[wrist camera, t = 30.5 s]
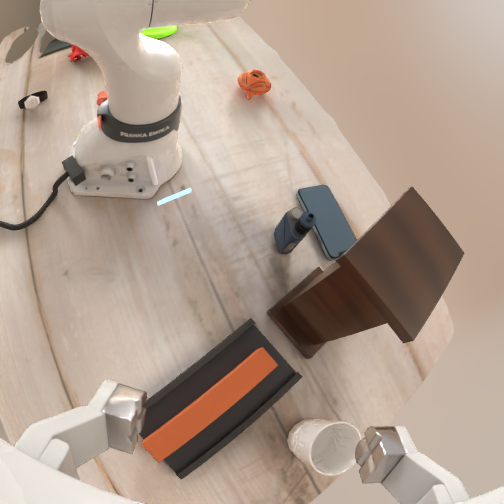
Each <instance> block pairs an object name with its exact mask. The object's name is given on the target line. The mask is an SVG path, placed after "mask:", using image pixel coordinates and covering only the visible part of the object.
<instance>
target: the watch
mask: <svg viewBox="0 0 504 504" xmlns="http://www.w3.org/2000/svg"><path fill="white" fill-rule="evenodd" d="M47 98H48V97H47V91H41V92H37V93H33V94H31V95H29V96H27V97H25V98H23V99H21V100H20V101H19V102H18V104H19V107H20V109H23V108H29V109H33V108H35V107H36V106H37V105H38V103H40V102H42V101H44V100H46V99H47Z"/></svg>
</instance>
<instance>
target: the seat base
mask: <svg viewBox="0 0 504 504" xmlns="http://www.w3.org/2000/svg"><path fill="white" fill-rule="evenodd" d="M254 324H255V322H254V321H253V320H252V319H251V318H250V319H249V320H248V321H246V322H245V323H244V324H243V325H242V326H240V327H239V328H238V329H237V330H236V331H234V332H233V333H232V334H231V335H230V336H228V337H227V338H226V339H225V340H223V341H222V342H221V343H220V344H218V345H217V346H216V347H215V348H214V349H212V350H211V351H210V352H209V353H207V354H206V355H205V356H204V357H202V358H201V359H200V360H199V361H197V362H196V363H195V364H194V365H192V366H191V367H190V368H188V369H187V370H186V371H185V372H183V373H182V374H181V375H179V376H178V377H177V378H176V379H174V380H173V381H172V382H170V383H169V384H168V385H167V386H165V387H164V388H163V389H161V390H160V391H159V392H157V393H156V394H155V395H153V396H152V397H151V398H149V399H148V400H147V401H146V402H145V405H144V407H145V408H146V417H145V422H144V425H143V428H142V431H141V433H139V434H140V435H141V436H142V438H143V439H145V438H147V437H148V436H149V435H151V434H152V433H153V432H155V431H156V430H157V429H159V428H160V427H161V426H163V425H164V424H165V423H167V422H168V421H169V420H171V419H172V418H173V417H175V416H176V415H177V414H179V413H180V412H181V411H182V410H184V409H185V408H186V407H188V406H189V405H190V404H191V403H193V402H194V401H195V400H196V399H198V398H199V397H200V396H202V395H203V394H204V393H205V392H206V391H208V390H209V389H210V388H211V387H213V386H214V385H215V384H216V383H218V382H219V381H220V380H221V379H222V378H224V377H225V376H226V375H227V374H228V373H230V372H231V371H232V370H233V369H234V368H236V367H237V366H238V365H239V364H240V363H241V362H243V361H244V360H245V359H246V358H247V357H248V356H250V355H251V354H252V353H253V352H254V351H255V350H257V349H259V348H262V347H263V348H264V349H265V351H266V352H267V353H268V354H269V355H270V356H271V357H272V359H273V360H274V361H275V362H276V363H277V364H278V366H277V367H276V368H275V369H274V370H273V371H271V372H270V373H269V374H268V375H267V376H266V377H265V378H264V379H263V380H262V381H260V382H259V383H258V384H257V385H256V386H255V387H254V388H252V389H251V390H250V391H249V392H248V393H247V394H246V395H244V396H243V397H242V398H241V399H240V400H239V401H237V402H236V403H235V404H234V405H233V406H231V407H230V408H229V409H228V410H227V411H225V412H224V413H223V414H222V415H221V416H219V417H218V418H217V419H216V420H214V421H213V422H212V423H211V424H209V425H208V426H207V427H206V428H204V429H203V430H202V431H201V432H199V433H198V434H197V435H196V436H194V437H193V438H192V439H190V440H189V441H188V442H186V443H185V444H184V445H182V446H181V447H180V448H178V449H177V450H176V451H174V452H173V453H172V454H170V455H169V456H168V457H166V458H165V459H163V460H164V461H165V462H166V463H167V464H168V465H169V466H170V467H171V468H172V469H173V470H174V471H175V472H176V475H177V476H178V477H179V478H180V479H183V478H184V477H185V476H187V475H188V474H189V473H191V472H192V471H194V470H195V469H196V468H198V467H199V466H200V465H202V464H203V463H204V462H205V461H207V460H208V459H209V458H211V457H212V456H213V455H214V454H216V453H217V452H218V451H220V450H221V449H222V448H223V447H225V446H226V445H227V444H228V443H229V442H231V441H232V440H233V439H234V438H236V437H237V436H238V435H239V434H240V433H241V432H243V431H244V430H245V429H246V428H247V427H249V426H250V425H251V424H252V423H253V422H254V421H255V420H257V419H258V418H259V417H260V416H261V415H262V414H263V413H264V412H266V411H267V410H268V409H269V408H270V407H271V406H272V405H273V404H274V403H275V402H277V401H278V400H279V399H280V398H281V397H282V396H283V395H284V394H285V393H286V392H287V391H288V390H289V389H290V388H291V387H292V386H294V385H295V384H296V383H297V382H298V381H299V380H300V379H301V378H302V376H301V375H300V374H299V373H298V372H297V373H296V372H295V371H294V370H293V369H292V368H291V366H290V365H289V364H288V363H287V362H286V361H285V360H284V359H283V357H282V356H281V355H280V354H279V353H278V352H277V351H276V349H275V348H274V347H273V346H272V345H271V344H270V343H269V341H268V340H267V339H266V338H265V337H264V336H263V334H262V333H261V332H260V331H259V330H258V329H257V327H256V326H255V325H254Z"/></svg>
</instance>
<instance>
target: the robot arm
mask: <svg viewBox="0 0 504 504" xmlns="http://www.w3.org/2000/svg"><path fill="white" fill-rule="evenodd" d="M249 2H250V0H41V3H40V16H41V19H42V23H43V25H44V27H45V28H46V30H47V31H48V32H49V33H50V34H51V35H52V36H54V37H55V38H57V39H58V40H62V41H65V42H68V43H71V44H73V45H75V46H77V47H79V48H81V49H82V50H84V51H85V52H86V53H88V54H89V55H90V56H91V57H92V58H93V59H94V60H95V61H96V63H97V64H98V66H99V67H100V69H101V71H102V74H103V77H104V82H105V86H106V91H107V92H106V91H102V92H100V93H99V94H98V97H97V98H98V100H97V104H98V105H99V107H98V110H97V117H95V118H94V119H92V120H91V121H89V122H88V123H86V124H85V125H84V126H83V127H82V129H81V131H80V133H79V135H78V138H77V141H76V142H75V143H74V145H73V147H72V149H71V151H70V154H69V158H67V159H66V160H64V161H63V162H62V164H63V167H64V169H65V171H66V172H65V173H64V174H63V175H62V176H61V177H60V178H59V179H58V180H57V181H56V182H55V184H54V185H53V192H52V194H51V195H50V197H49V198H48V200H47V201H46V203H45V204H44V205H43V206H42V208H41V209H40V210H39V211H38V212H37V213H36V214H35V215H34V216H33V217H31V218H30V219H29V220H27V221H25V222H23V223H21V224H17V225H13V224H8V223H5V222H2V221H0V227H3V228H6V229H9V230H20V229H23V228H25V227H27V226H29V225H30V224H32V223H33V222H35V221H36V220H37V219H38V218H39V217H40V216H41V215H42V214H43V212H44V211H45V210H46V208H47V207H48V206H49V205H50V203H51V202H52V201H53V200H54V198H55V197H56V195H57V193H58V187H59V185H60V184H61V183H62V182H63V181H65V180H66V179H68V184H69V187H70V189H71V191H72V192H73V194H74V195H82V196H104V197H122V198H139V199H149V198H151V197H152V196H154V194H155V193H156V192H157V190H158V188H159V187H160V186H161V185H162V184H163V183H165V182H166V181H168V180H169V179H171V178H172V177H173V176H174V175H175V174H176V173H177V171H178V170H179V168H180V166H181V164H182V160H183V151H182V148H181V146H180V142H179V137H178V127H179V123H180V118H181V99H180V95H179V92H180V82H181V73H182V62H181V59H180V56H179V55H178V53H177V52H176V51H175V50H174V49H173V48H172V47H170V46H169V45H167V44H166V43H164V42H162V41H159V40H156V39H153V38H150V37H147V36H145V35H143V34H141V33H140V32H141V31H143V30H146V29H149V28H158V27H168V26H182V25H200V24H205V23H210V22H216V21H221V20H226V19H232V18H235V17H237V16H238V15H239V14H240V13H241V12H242V11H243V10H244V9H245V8H246V7H247V5H248V4H249ZM140 190H142V192H139V191H140ZM190 192H191V188H189V189H186V190H184V191H182V192H179V193H177V194H174V195H172V196H169V197H167V198H165V199H162V200H160V201H157V204H158V206H159V205H161V204H163V203H166V202H168V201H171V200H173V199H175V198H178V197H180V196H183V195H185V194H187V193H190ZM146 398H147V393H146V392H144V391H141V390H138V389H134V388H132V387H129V386H126V385H123V384H120V383H116V382H113V381H111V380H108V379H106V380H104V381H103V382H102V384H101V385H100V387H99V388H98V390H97V391H96V393H95V394H94V396H93V398H92V399H91V401H90V402H89V404H88V405H87V406H84V405H82V406H79V407H77V408H74V409H71V410H69V411H66V412H63V413H61V414H58V415H55V416H52V417H49V418H46V419H44V420H41V421H38V422H35V423H32V424H30V425H29V427H28V428H27V429H26V430H25V432H24V433H23V435H22V436H21V437H20V439H19V440H18V441H17V443H16V444H15V445H14V446H12V445H11V444H9V443H7V442H6V441H4V440H3V439H1V438H0V504H145V503H142V502H138V501H135V500H132V499H129V498H126V497H123V496H120V495H117V494H114V493H111V492H108V491H106V490H103V489H100V488H98V487H95V486H93V485H90V484H88V483H85V482H83V481H80V479H79V476H78V473H77V470H76V468H77V467H79V466H81V465H82V464H84V463H86V462H87V461H89V460H91V459H92V458H94V457H96V456H97V455H99V454H101V453H102V452H104V451H105V450H107V449H109V447H111V448H114V449H117V450H120V451H123V452H127V453H130V454H133V451H134V449H135V446H136V444H137V441H138V434H139V433H141V431H142V428H143V425H144V422H145V417H146V408H145V407H144V405H145V402H146ZM355 459H356V463H358V464H359V465H360V466H361V468H360V470H359V473H360V476H361V480H362V483H381V484H382V485H383V486H384V487H385V488H386V489H387V490H388V491H389V492H390V493H391V494H392V495H393V496H394V497H395V498H396V499H397V500H398V501H399V502H400V503H401V504H504V486H502V487H500V488H497V489H495V490H492V491H490V492H487V493H484V494H481V495H479V496H476V497H473V498H469V496H468V494H467V492H466V490H465V488H464V486H463V484H462V482H461V480H460V479H459V478H458V477H456V476H454V475H453V474H452V473H450V472H449V471H447V470H446V469H444V468H442V467H441V466H439V465H438V464H437V463H435V462H434V461H432V460H431V459H430V458H428V457H426V456H425V455H424V454H422V453H418V451H417V449H416V447H415V445H414V443H413V441H412V439H411V437H410V435H409V433H408V431H407V429H406V428H405V427H404V426H371V427H369V428H368V429H367V430H366V432H365V438H363V439H362V440H360V441H359V443H358V444H357V446H356V450H355Z"/></svg>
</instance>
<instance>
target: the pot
mask: <svg viewBox="0 0 504 504" xmlns="http://www.w3.org/2000/svg"><path fill="white" fill-rule="evenodd" d="M238 83H239V85H240V87H241V88H242V89H243V90H244V91H245V92H247V99H250V98H251V97H252V96H253V95H260V94H264V93H266V92H268V91H269V90H270V89H271V83H270V82H269V80H268V78H267V77H266V76H265V74H264V73H263V72H261V71H259V70H252V71H247V72H244V73H242V74H241V75H240V76H239V77H238Z"/></svg>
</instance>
